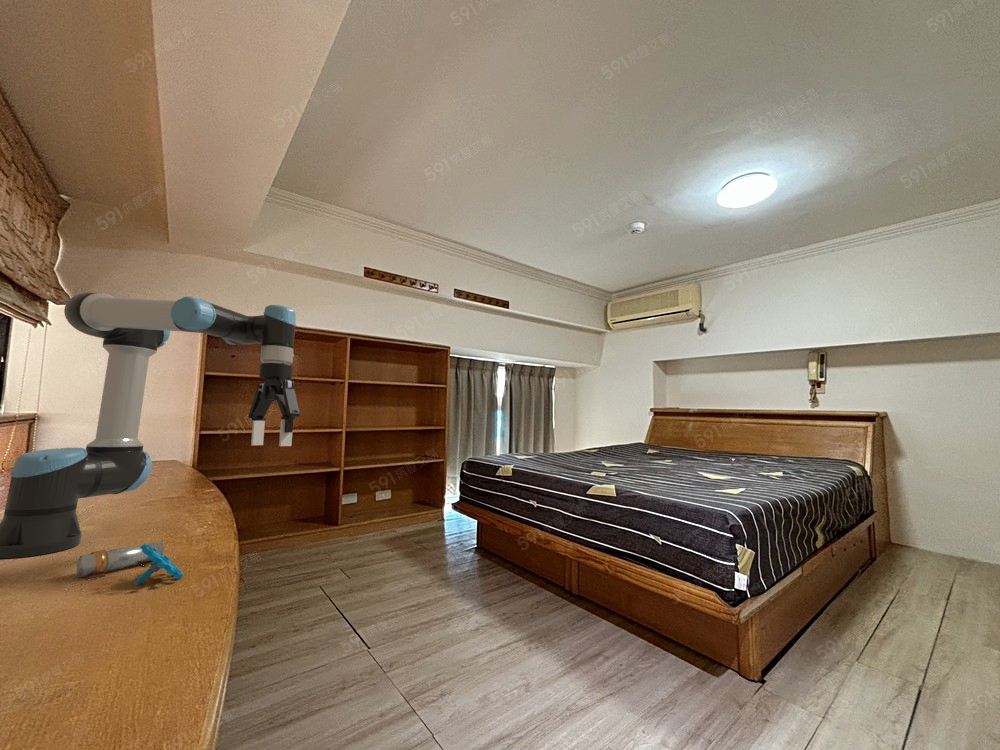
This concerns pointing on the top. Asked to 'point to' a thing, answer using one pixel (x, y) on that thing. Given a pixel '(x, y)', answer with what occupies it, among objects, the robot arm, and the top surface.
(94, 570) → the guide pipe
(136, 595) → the top surface
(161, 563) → the gear
